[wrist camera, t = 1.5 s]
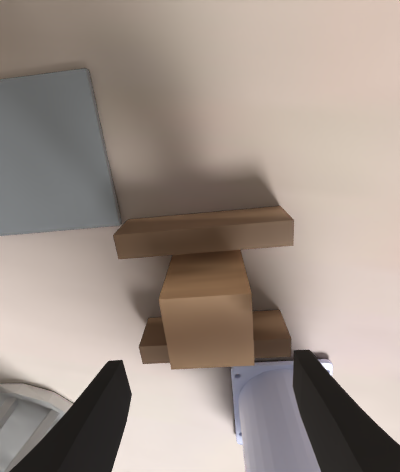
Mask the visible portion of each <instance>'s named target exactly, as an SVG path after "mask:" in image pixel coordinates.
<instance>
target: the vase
mask: <svg viewBox="0 0 400 472" xmlns="http://www.w3.org/2000/svg"><path fill="white" fill-rule="evenodd" d="M72 405H73V403H71V402H70V401H68V400H66V399H65V398H63V397H61V396H60V395H58V394H57V393H55V392H52V391H49V390H45V389H42V388H38V387H34V386H31V385H27V384H24V383H13V384H0V472H9V471H10V470H11V469H12V468H13V467H14V466H16V465H17V464H18V463H19V462H20V461H21V460H22V459H23V458H24V457H25V456H26V455H27V454H28V453H29V452H30V451H31V450H32V449H33V448H34V447H35V446H36V445H37V444H38V443H39V442H40V441H41V440H42V438H43V437H44V436H45V435H46V434H47V433H48V432H49V431H50V430H51V429H52V428H53V427H54V425H55V424H56V423H57V422H58V421H59V420H60V419H61V418H62V417H63V415H64V414H65V413H66V412H67V411H68V410H69V409H70V407H71V406H72Z"/></svg>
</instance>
